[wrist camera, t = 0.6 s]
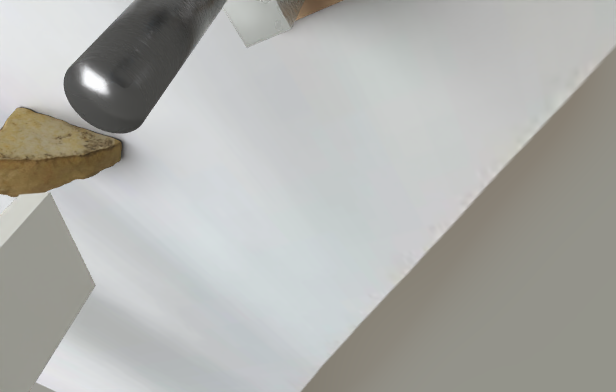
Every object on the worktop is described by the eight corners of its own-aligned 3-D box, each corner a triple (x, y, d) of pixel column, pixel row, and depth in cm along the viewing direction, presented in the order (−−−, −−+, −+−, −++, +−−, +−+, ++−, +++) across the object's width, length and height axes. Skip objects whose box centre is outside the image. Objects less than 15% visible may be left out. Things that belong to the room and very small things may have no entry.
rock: (137, 145, 49) (20, 79, 44) (86, 237, 47) (-41, 177, 43) (117, 148, 58) (19, 94, 54) (74, 224, 57) (-31, 175, 53)
